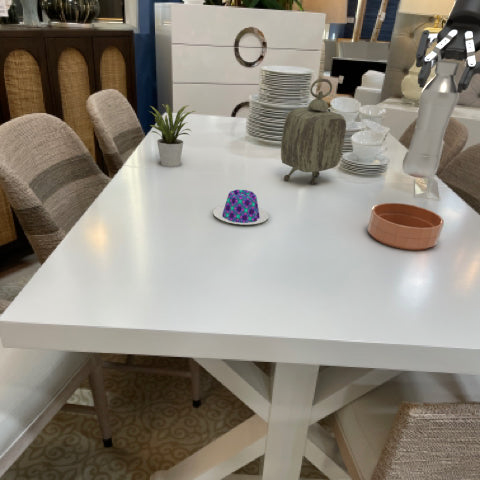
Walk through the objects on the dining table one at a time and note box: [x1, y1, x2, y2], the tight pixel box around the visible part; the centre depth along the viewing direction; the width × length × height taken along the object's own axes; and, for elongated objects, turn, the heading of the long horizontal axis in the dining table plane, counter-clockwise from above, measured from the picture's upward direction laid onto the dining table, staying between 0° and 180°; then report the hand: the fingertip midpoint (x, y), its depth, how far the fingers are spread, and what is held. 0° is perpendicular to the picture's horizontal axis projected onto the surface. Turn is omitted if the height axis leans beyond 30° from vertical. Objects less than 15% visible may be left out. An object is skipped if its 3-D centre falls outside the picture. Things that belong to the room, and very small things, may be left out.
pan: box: [367, 202, 445, 251], centre depth 98 cm, size 14×14×5 cm
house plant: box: [148, 102, 195, 168], centre depth 128 cm, size 14×14×16 cm
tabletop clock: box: [280, 78, 347, 185], centre depth 120 cm, size 14×9×25 cm, turn 124°
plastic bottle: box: [402, 60, 460, 179], centre depth 88 cm, size 6×7×20 cm
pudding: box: [212, 189, 269, 226], centre depth 101 cm, size 12×12×5 cm
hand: (440, 86), depth 83 cm, fingers closed on plastic bottle, 6 cm apart
